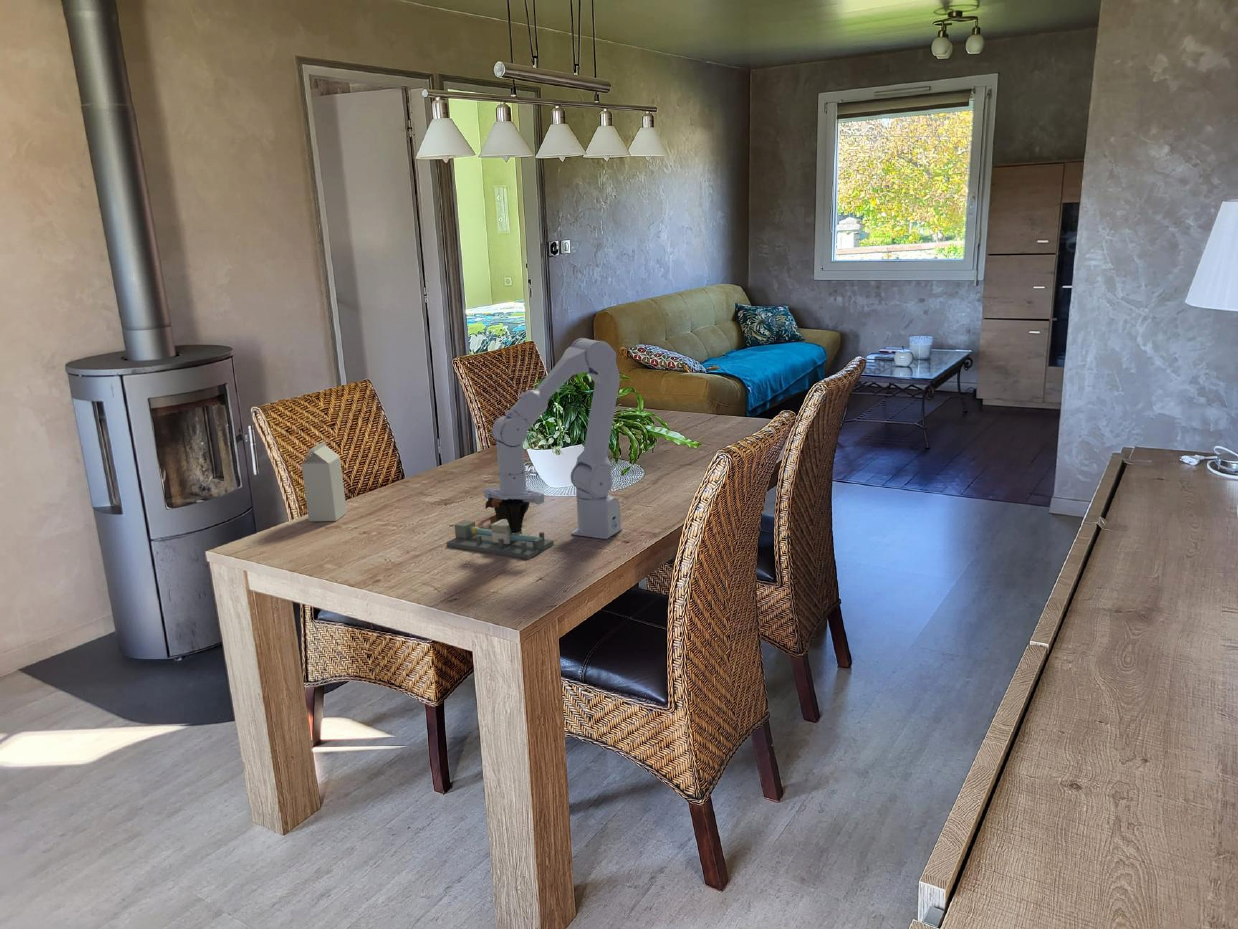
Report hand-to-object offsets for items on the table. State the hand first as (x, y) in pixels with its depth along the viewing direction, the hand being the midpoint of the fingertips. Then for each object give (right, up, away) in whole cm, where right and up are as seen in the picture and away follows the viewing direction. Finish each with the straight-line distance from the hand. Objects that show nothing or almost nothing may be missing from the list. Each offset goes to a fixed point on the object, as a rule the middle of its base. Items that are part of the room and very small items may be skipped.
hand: (516, 531), depth 201 cm
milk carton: (-51, +1, +30) cm, 59 cm away
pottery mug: (-4, +1, +22) cm, 22 cm away
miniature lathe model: (-4, -3, +3) cm, 6 cm away
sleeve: (-3, -2, +2) cm, 4 cm away
